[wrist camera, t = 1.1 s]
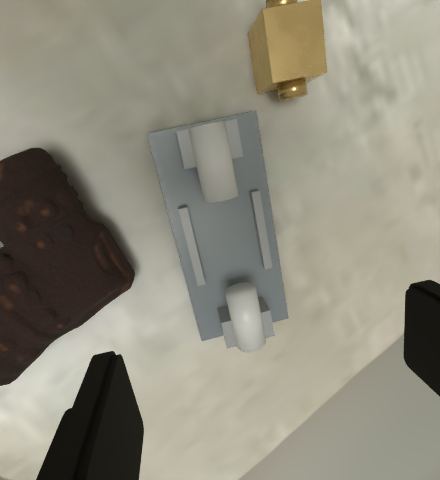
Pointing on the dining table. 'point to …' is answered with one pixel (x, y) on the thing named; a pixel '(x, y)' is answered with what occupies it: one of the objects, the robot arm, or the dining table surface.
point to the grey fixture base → (223, 226)
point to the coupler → (287, 47)
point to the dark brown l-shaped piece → (49, 260)
